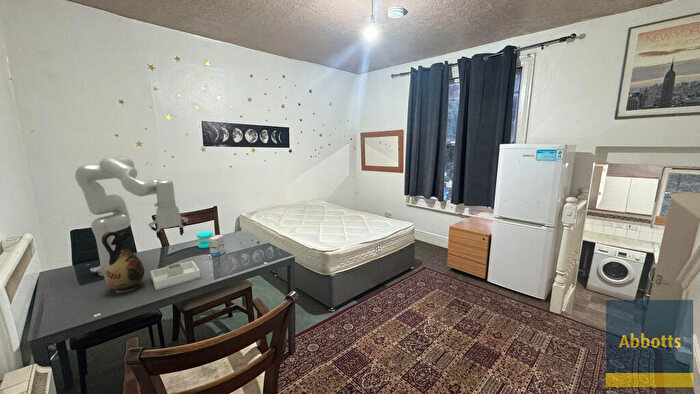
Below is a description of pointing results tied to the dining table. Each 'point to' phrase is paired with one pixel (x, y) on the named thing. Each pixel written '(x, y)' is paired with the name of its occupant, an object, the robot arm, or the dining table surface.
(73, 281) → the dining table surface
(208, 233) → the donuts
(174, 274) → the box
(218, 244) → the ink box
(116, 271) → the ceramic jug
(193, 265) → the white shallow tray
